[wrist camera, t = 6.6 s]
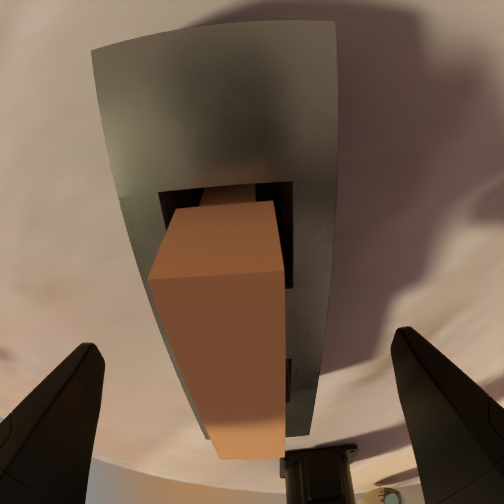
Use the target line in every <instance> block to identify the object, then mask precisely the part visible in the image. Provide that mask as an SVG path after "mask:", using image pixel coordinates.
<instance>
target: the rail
mask: <svg viewBox="0 0 504 504" xmlns="http://www.w3.org/2000/svg"><path fill="white" fill-rule="evenodd" d="M91 55H92V63H93V71H94V78H95V85H96V91H97V98H98V104H99V110H100V115H101V121H102V126H103V131H104V137H105V142H106V146H107V151H108V156H109V160H110V165H111V169H112V174H113V178H114V182H115V186H116V190H117V194H118V198H119V202H120V206H121V210H122V214H123V217H124V221H125V225H126V228H127V232H128V235H129V239H130V242H131V246H132V249H133V252H134V256H135V259H136V262H137V265H138V269H139V272H140V275H141V278H142V281H143V284H144V287H145V290H146V293H147V296H148V299H149V302H150V305H151V308H152V310H153V313H154V316H155V319H156V322H157V324H158V327H159V330H160V332H161V335H162V338H163V340H164V343H165V346H166V348H167V351H168V353H169V356H170V358H171V361H172V363H173V366H174V368H175V371H176V373H177V376H178V378H179V380H180V383H181V385H182V387H183V390H184V392H185V394H186V397H187V399H188V401H189V403H190V406H191V408H192V410H193V412H194V414H195V417H196V419H197V421H198V423H199V425H200V427H201V429H202V432H203V434H204V436H205V438H206V439H208V440H211V439H210V437H209V435H208V433H207V431H206V428H205V426H204V424H203V422H202V420H201V417H200V415H199V413H198V411H197V409H196V406H195V404H194V402H193V399H192V397H191V395H190V392H189V390H188V388H187V385H186V383H185V381H184V378H183V376H182V373H181V371H180V368H179V366H178V363H177V361H176V358H175V356H174V353H173V351H172V348H171V345H170V343H169V340H168V337H167V335H166V332H165V329H164V326H163V324H162V321H161V318H160V315H159V312H158V310H157V307H156V304H155V301H154V298H153V295H152V292H151V289H150V286H149V283H148V280H147V279H148V276H149V274H150V271H151V268H152V266H153V263H154V261H155V258H156V256H157V253H158V251H159V248H160V246H161V243H162V241H163V239H164V236H165V234H166V231H167V229H168V227H169V224H170V222H171V220H172V217H173V215H174V213H175V210H176V209H179V208H189V207H193V204H192V198H191V192H190V189H192V188H203V187H214V186H226V185H239V184H253V183H268V182H281V205H282V227H278V233H279V240H280V246H281V252H282V259H283V265H284V278H285V345H286V405H285V437H295V436H305V435H309V433H310V428H311V422H312V417H313V411H314V405H315V399H316V393H317V387H318V380H319V373H320V367H321V360H322V352H323V345H324V337H325V329H326V320H327V312H328V302H329V293H330V283H331V272H332V260H333V247H334V233H335V217H336V198H337V173H338V64H337V40H336V23H335V21H320V20H265V21H247V22H234V23H223V24H214V25H206V26H198V27H192V28H185V29H179V30H173V31H168V32H163V33H157V34H153V35H148V36H143V37H139V38H135V39H131V40H127V41H123V42H119V43H115V44H112V45H108V46H105V47H101V48H98V49H95V50H91Z"/></svg>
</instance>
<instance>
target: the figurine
mask: <svg viewBox="0 0 504 504" xmlns="http://www.w3.org/2000/svg"><path fill="white" fill-rule="evenodd" d="M382 483H383V482H381V483H378V484H376V485H378V486H380V485H381V484H382ZM358 504H405V499H404V497H403V495H402V494H401V493H400V492H399V491H397V490H395V489H392V488H378V489H374V490H372V491H370V492H368V493H366V494H365V495H364V496H363V497H362V498H361V499H360V500H359V502H358Z"/></svg>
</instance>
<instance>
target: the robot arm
mask: <svg viewBox="0 0 504 504" xmlns="http://www.w3.org/2000/svg"><path fill="white" fill-rule="evenodd" d="M391 357H392V362H393V367H394V372H395V378H396V383H397V389H398V394H399V399H400V403H401V406H402V410H403V413H404V417H405V420H406V424H407V428H408V431H409V435H410V439H411V443H412V447H413V451H414V455H415V459H416V463H417V468H418V472H419V476H420V481H421V486H422V490H423V495H424V500H425V504H504V408H503V407H502V406H500V405H499V404H498V403H497V402H496V401H495V400H494V399H493V398H492V397H489V395H488V394H487V393H486V392H485V391H484V390H483V389H482V388H481V387H479V386H478V385H477V384H476V383H475V382H474V381H473V380H472V379H471V378H469V377H468V376H467V375H466V374H465V373H464V372H463V371H462V370H460V369H459V368H458V367H457V366H456V365H455V364H454V363H453V362H451V361H450V360H449V359H448V358H447V357H446V356H445V355H443V354H442V353H441V352H440V351H439V350H438V349H437V348H435V347H434V346H433V345H432V344H431V343H430V342H428V341H427V340H426V339H425V338H424V337H423V336H421V335H420V334H419V333H418V332H417V331H416V330H414V329H413V328H412V327H410V326H407V327H400V328H398V329H397V330H396V332H395V335H394V338H393V341H392V344H391ZM104 372H105V361H104V358H103V357H102V355H101V353H100V351H99V350H98V348H97V346H96V345H95V344H94V343H82V344H80V345H79V346H78V347H77V348H76V349H75V350H74V351H73V352H72V353H71V354H70V355H69V356H68V357H66V358H65V359H64V360H63V361H62V362H61V363H60V364H59V365H58V366H57V367H56V368H55V369H54V370H53V371H52V372H51V373H50V374H49V375H48V376H47V377H46V378H45V379H44V380H43V381H42V382H41V383H40V384H39V385H38V386H37V387H36V388H35V389H34V390H33V391H32V392H31V393H30V394H29V395H28V396H27V397H26V398H25V399H24V400H23V401H22V402H21V403H20V404H19V405H18V406H17V407H16V408H15V409H14V410H13V411H12V413H10V414H9V415H8V416H7V417H6V418H5V419H4V420H3V421H2V422H1V423H0V504H85V500H86V492H87V484H88V476H89V470H90V463H91V457H92V451H93V445H94V439H95V434H96V429H97V423H98V418H99V413H100V407H101V399H102V389H103V380H104ZM357 451H358V446H357V445H350V446H344V447H338V448H331V449H323V450H315V451H306V452H295V453H285V457H281V458H280V478H285V483H286V499H287V504H355V498H354V491H353V485H352V478H351V472H350V466H349V465H350V464H351V462H352V460H353V458H354V457H355V455H356V453H357Z"/></svg>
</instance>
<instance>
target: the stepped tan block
mask: <svg viewBox="0 0 504 504" xmlns="http://www.w3.org/2000/svg"><path fill="white" fill-rule="evenodd" d="M147 280H148V283H149V286H150V289H151V292H152V295H153V298H154V301H155V304H156V307H157V310H158V312H159V315H160V318H161V321H162V324H163V326H164V329H165V332H166V335H167V337H168V340H169V343H170V345H171V348H172V351H173V353H174V356H175V358H176V361H177V363H178V366H179V368H180V371H181V373H182V376H183V378H184V381H185V383H186V385H187V388H188V390H189V392H190V395H191V397H192V399H193V402H194V404H195V406H196V409H197V411H198V413H199V415H200V417H201V420H202V422H203V424H204V426H205V428H206V431H207V433H208V435H209V437H210V439H211V441H212V443H213V445H214V447H215V449H216V451H217V453H218V456H219V458H220V459H264V458H281V457H285V405H286V345H285V278H284V265H283V259H282V252H281V246H280V240H279V233H278V227H277V221H276V215H275V209H274V203H273V201H262V202H256V190H255V183H253V184H239V185H226V186H214V187H205V189H204V192H203V195H202V198H201V202H200V205H199V207H189V208H179V209H176V210H175V213H174V215H173V217H172V220H171V222H170V224H169V227H168V229H167V231H166V234H165V236H164V239H163V241H162V243H161V246H160V248H159V251H158V253H157V256H156V258H155V261H154V263H153V266H152V268H151V271H150V274H149V276H148V279H147Z"/></svg>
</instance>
